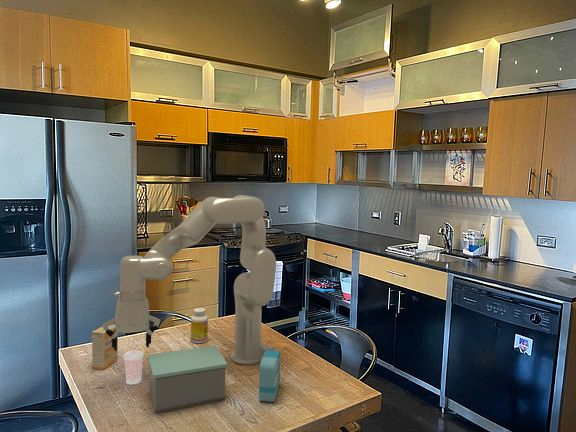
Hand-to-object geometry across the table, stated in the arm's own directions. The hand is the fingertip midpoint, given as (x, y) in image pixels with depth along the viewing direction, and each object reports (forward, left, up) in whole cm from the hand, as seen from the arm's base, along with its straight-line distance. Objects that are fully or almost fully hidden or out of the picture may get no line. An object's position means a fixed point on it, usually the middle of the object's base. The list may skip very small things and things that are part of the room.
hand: (131, 347), depth 138 cm
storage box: (-15, +15, -11) cm, 24 cm away
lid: (-15, +15, -1) cm, 21 cm away
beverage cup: (-1, 0, -12) cm, 12 cm away
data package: (-39, +23, -12) cm, 46 cm away
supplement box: (+7, -16, -12) cm, 21 cm away
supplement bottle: (-28, -26, -12) cm, 40 cm away
